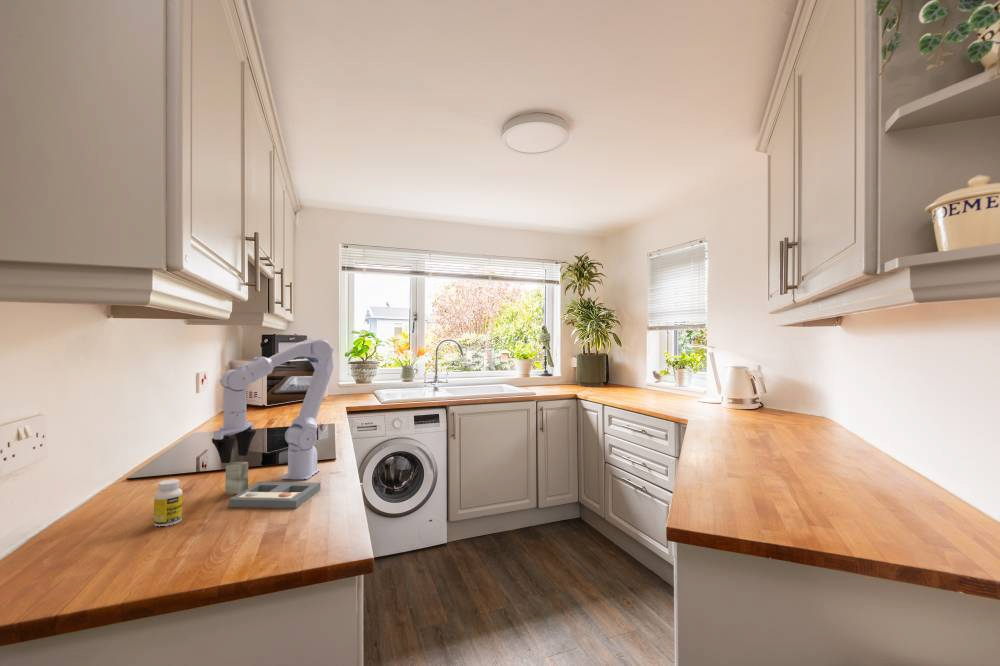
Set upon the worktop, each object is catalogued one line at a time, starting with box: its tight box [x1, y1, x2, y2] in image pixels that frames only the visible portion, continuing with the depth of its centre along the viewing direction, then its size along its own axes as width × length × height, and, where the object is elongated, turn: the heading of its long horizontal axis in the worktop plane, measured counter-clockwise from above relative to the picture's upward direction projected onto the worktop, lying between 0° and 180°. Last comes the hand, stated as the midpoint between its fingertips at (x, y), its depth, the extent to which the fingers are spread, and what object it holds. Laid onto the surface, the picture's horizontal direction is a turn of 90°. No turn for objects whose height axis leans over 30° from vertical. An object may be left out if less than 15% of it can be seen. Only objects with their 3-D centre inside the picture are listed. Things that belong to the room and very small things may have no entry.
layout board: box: [228, 481, 322, 509], centre depth 121 cm, size 14×18×2 cm
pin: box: [224, 461, 249, 495], centre depth 125 cm, size 4×4×8 cm
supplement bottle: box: [153, 478, 184, 528], centre depth 104 cm, size 5×5×10 cm
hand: (234, 459), depth 125 cm, fingers open, 7 cm apart
